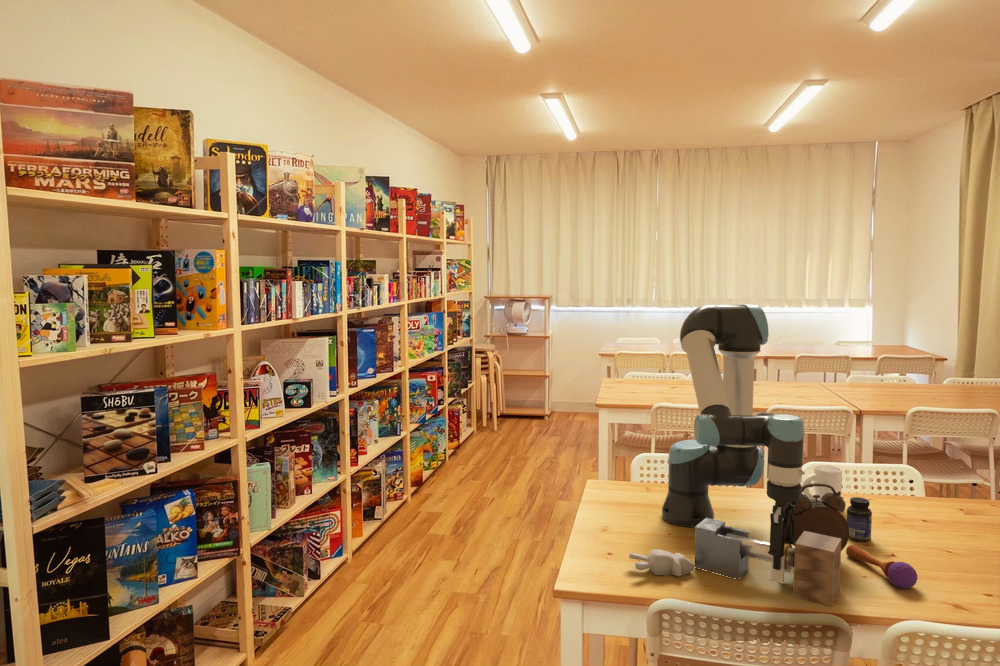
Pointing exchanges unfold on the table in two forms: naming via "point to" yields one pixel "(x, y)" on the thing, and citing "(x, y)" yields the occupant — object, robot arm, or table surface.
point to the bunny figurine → (663, 563)
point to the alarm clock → (822, 515)
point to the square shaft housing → (719, 549)
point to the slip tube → (763, 550)
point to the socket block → (817, 568)
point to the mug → (824, 480)
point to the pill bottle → (859, 520)
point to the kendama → (887, 568)
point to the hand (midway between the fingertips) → (781, 575)
